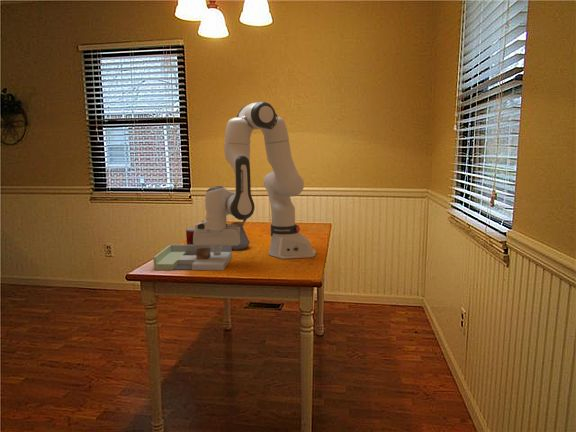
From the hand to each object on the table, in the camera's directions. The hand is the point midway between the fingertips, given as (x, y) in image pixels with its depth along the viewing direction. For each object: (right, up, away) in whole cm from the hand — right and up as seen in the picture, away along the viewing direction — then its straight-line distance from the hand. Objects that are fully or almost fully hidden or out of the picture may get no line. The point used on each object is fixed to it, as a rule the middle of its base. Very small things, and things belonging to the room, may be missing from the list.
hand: (217, 255), depth 174 cm
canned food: (-15, 0, +23) cm, 27 cm away
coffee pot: (+7, +2, +31) cm, 32 cm away
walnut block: (-6, -1, 0) cm, 6 cm away
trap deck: (-10, -4, +1) cm, 11 cm away
